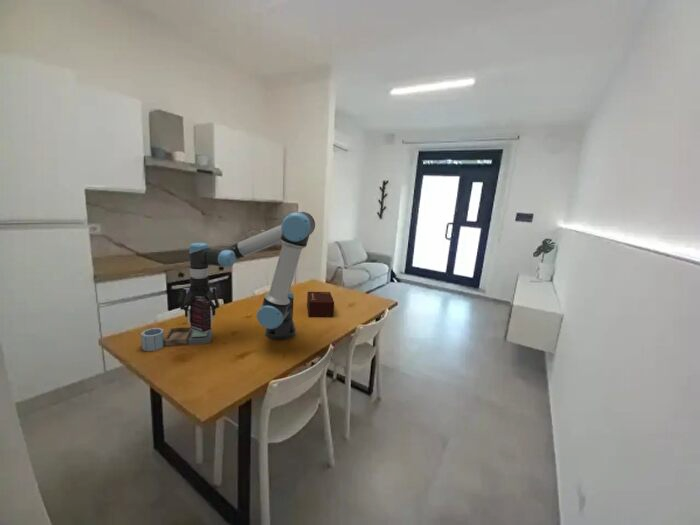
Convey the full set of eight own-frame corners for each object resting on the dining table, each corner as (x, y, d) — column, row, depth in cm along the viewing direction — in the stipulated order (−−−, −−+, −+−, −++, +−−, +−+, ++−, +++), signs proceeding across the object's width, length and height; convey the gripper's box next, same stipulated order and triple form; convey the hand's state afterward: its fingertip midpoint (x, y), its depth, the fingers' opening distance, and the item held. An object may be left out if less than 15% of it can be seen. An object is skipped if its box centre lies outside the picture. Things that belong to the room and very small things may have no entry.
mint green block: (209, 331, 149) (209, 325, 149) (206, 341, 140) (206, 334, 139) (195, 332, 147) (195, 326, 147) (192, 342, 138) (192, 335, 137)
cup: (166, 341, 138) (165, 327, 137) (161, 350, 131) (160, 335, 129) (145, 343, 136) (144, 328, 134) (140, 351, 128) (139, 336, 127)
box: (335, 317, 183) (336, 302, 181) (308, 317, 179) (309, 301, 177) (331, 305, 203) (332, 291, 201) (306, 305, 199) (307, 291, 197)
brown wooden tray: (192, 332, 150) (192, 326, 149) (188, 344, 137) (187, 338, 136) (171, 333, 146) (170, 327, 146) (164, 346, 134) (163, 340, 133)
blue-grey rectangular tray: (212, 332, 151) (212, 327, 150) (210, 343, 140) (209, 338, 139) (192, 333, 148) (192, 328, 147) (188, 344, 137) (188, 339, 136)
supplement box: (211, 330, 143) (211, 298, 140) (202, 334, 139) (202, 301, 136) (199, 326, 147) (198, 295, 144) (190, 329, 143) (189, 297, 140)
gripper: (225, 274, 145) (225, 317, 149) (174, 274, 138) (176, 320, 142) (224, 278, 138) (224, 324, 142) (170, 279, 131) (173, 327, 135)
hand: (200, 322), depth 142 cm, fingers closed on supplement box, 9 cm apart
